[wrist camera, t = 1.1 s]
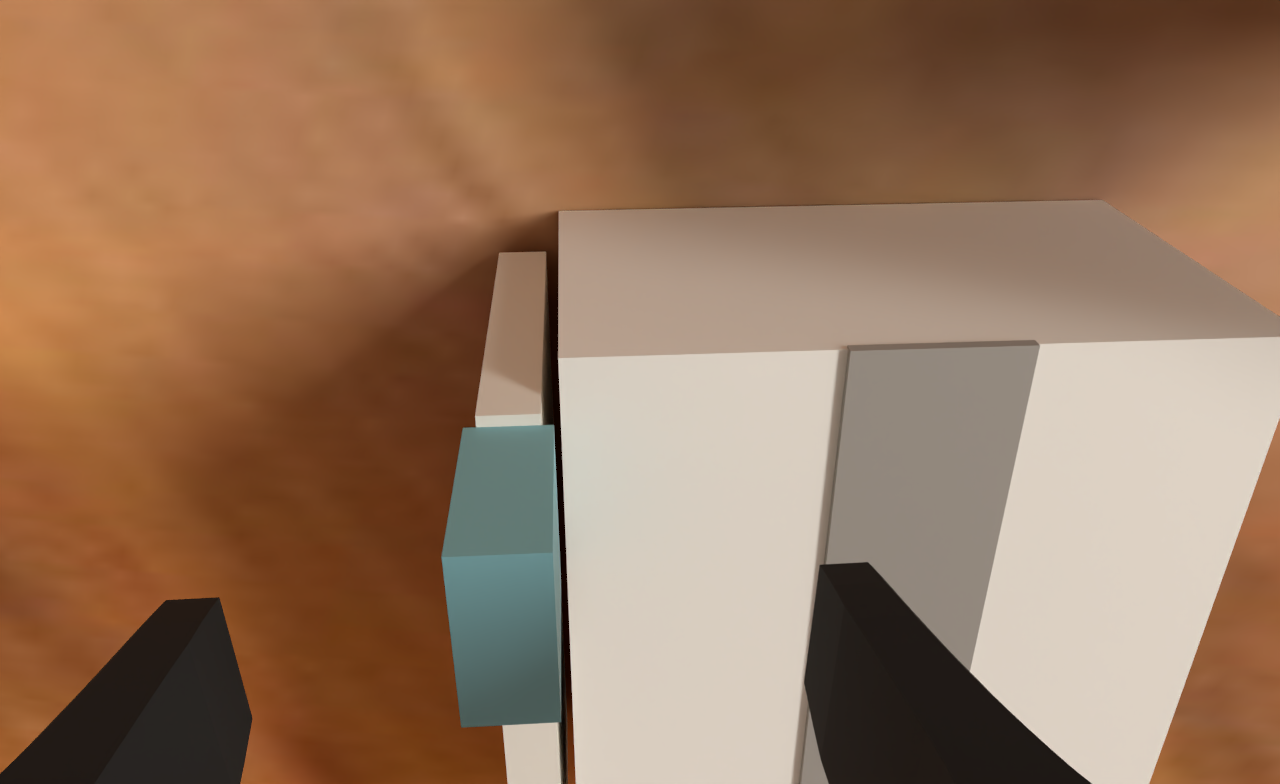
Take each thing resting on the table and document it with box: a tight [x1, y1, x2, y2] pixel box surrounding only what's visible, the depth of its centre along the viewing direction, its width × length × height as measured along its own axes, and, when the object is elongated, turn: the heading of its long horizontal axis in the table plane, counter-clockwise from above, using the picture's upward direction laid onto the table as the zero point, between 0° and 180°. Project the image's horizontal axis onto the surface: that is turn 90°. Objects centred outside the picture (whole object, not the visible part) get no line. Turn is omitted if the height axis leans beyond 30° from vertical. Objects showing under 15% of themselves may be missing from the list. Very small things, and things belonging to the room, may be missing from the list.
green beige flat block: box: [441, 252, 568, 784], centre depth 20 cm, size 14×1×10 cm, turn 0°
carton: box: [558, 200, 1280, 784], centre depth 23 cm, size 16×12×7 cm
